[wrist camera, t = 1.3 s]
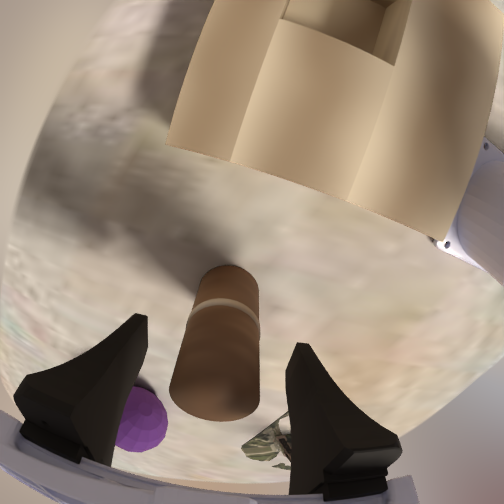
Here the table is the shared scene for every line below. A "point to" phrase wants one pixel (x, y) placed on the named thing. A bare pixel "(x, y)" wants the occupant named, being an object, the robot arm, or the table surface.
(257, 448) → the eiffel tower figurine
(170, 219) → the table surface
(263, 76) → the socket block
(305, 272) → the table surface
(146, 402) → the kendama
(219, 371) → the peg
